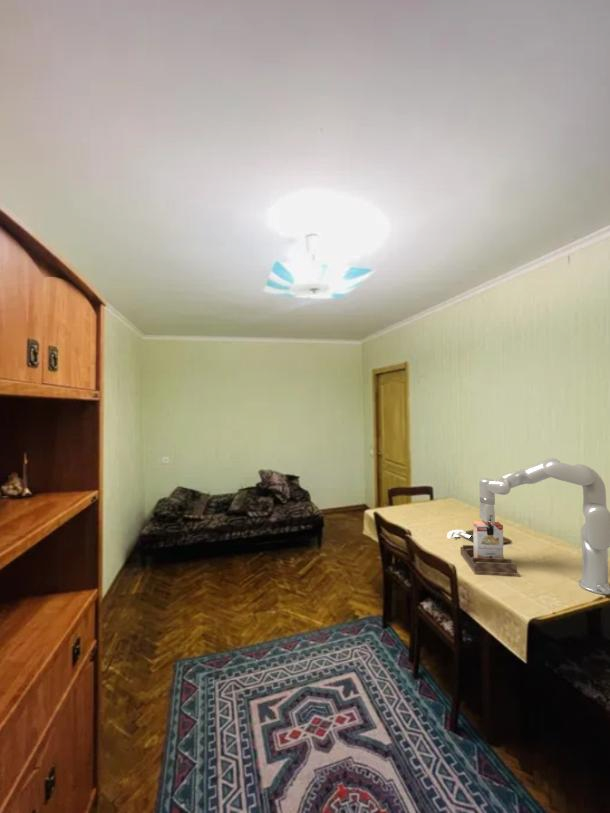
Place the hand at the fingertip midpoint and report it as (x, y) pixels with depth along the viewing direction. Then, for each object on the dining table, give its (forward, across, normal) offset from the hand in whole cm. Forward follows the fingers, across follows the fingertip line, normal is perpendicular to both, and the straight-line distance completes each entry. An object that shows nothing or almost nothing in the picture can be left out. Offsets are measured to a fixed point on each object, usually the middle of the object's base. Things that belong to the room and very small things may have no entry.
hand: (487, 532), depth 188 cm
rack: (+18, 0, 0) cm, 18 cm away
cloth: (+19, -41, -3) cm, 46 cm away
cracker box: (+16, 0, 0) cm, 16 cm away
